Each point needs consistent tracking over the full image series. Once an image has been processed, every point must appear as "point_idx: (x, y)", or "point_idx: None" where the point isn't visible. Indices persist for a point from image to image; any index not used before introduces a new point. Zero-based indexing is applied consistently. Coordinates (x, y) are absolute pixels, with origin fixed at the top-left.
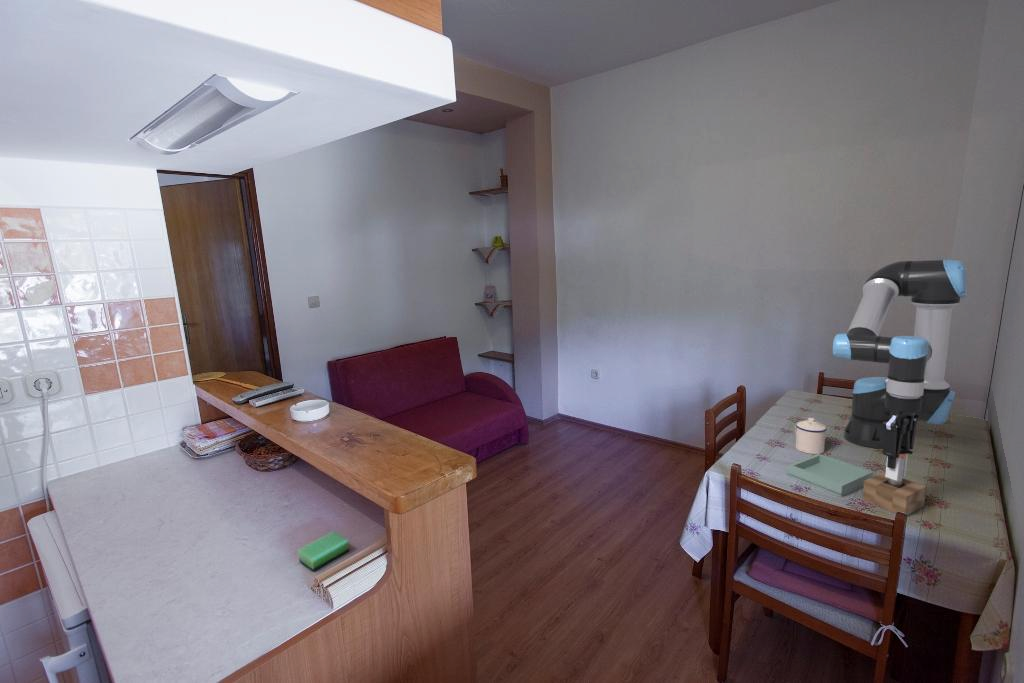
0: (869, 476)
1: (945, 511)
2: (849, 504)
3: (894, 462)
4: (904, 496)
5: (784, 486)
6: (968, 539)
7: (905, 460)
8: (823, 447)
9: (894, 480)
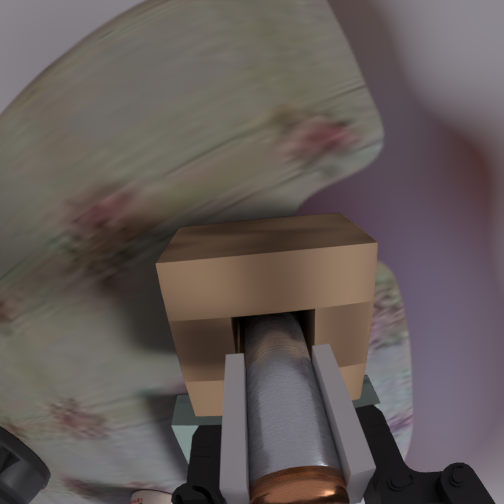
0: (193, 416)
1: (143, 167)
2: (393, 340)
3: (381, 442)
4: (375, 250)
5: (408, 436)
6: (300, 23)
7: (244, 446)
8: (145, 501)
9: (308, 354)
